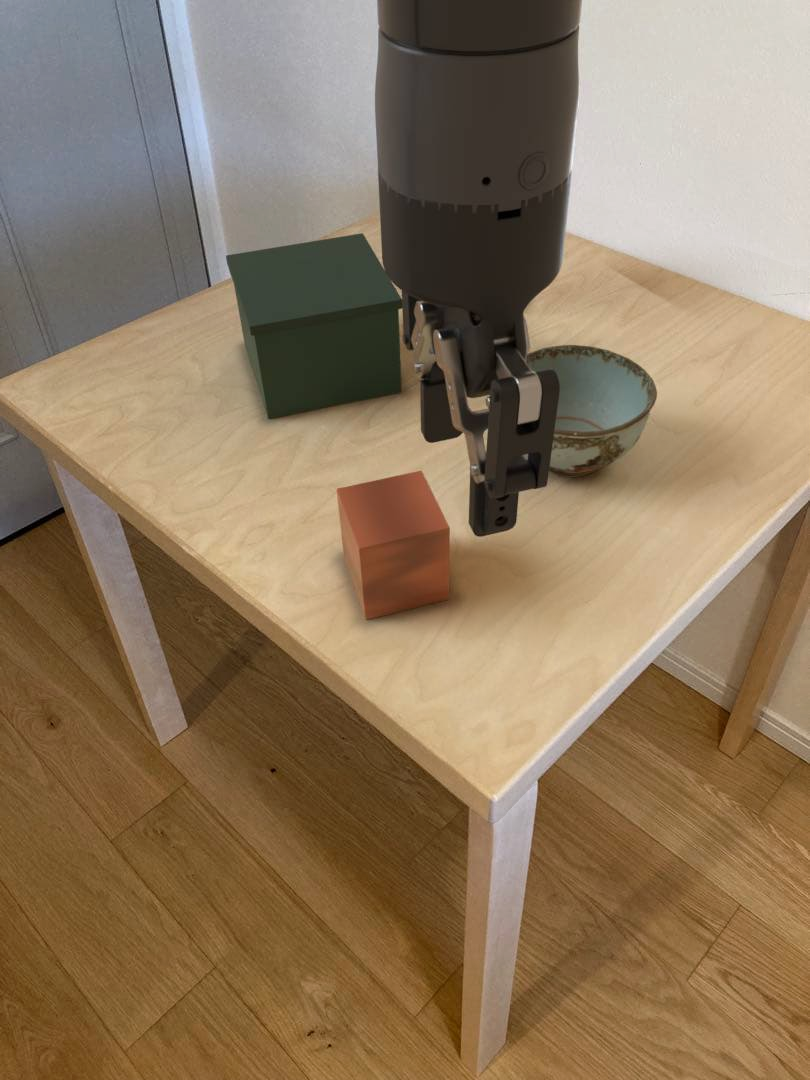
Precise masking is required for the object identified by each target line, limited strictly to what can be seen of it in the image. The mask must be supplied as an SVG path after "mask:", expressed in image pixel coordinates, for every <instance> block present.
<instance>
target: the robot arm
mask: <svg viewBox="0 0 810 1080" xmlns="http://www.w3.org/2000/svg"><path fill="white" fill-rule="evenodd" d="M582 5H583V0H376V10H377V11H376V12H377V25H378V30H377V42H378V43H377V62H376V70H375V71H376V72H375V83H374V118H375V137H376V139H375V140H376V157H377V179H378V183H377V184H378V198H379V199H378V200H379V201H378V202H379V222H380V223H379V224H380V243H381V244H380V245H381V260H382V267H383V268H384V270H385V272H386V274H387V276H388V277H389V278H390V280H391V282H392V283H393V285H394V286H395V287H396V288H398V289H399V290H401V299H402V309H401V310H402V329H403V330H402V331H403V334H402V342H403V344H404V345H405V348H406V350H407V351H413V353H414V357H413V364H412V369H413V372H414V374H415V375H416V378H417V379H418V380H419V394H420V395H419V396H420V398H419V400H420V401H419V403H420V432H421V434H422V436H423V438H424V440H425V442H427V443H430V444H434V443H439V442H442V441H443V442H444V441H448V440H453V439H457V438H459V437H460V436H461V435H463V434H464V436H465V443H466V448H467V449H466V450H467V455H468V461H469V496H468V497H469V498H468V525H469V527H470V529H471V531H472V532H473V535H474V536H476V537H479V538H481V537H487V536H491V535H494V534H495V535H496V534H499V533H503V532H507V531H510V530H512V529H514V527H515V526H516V524H517V521H518V507H519V495H520V492H525V491H529V490H530V491H531V490H537V489H543V488H546V487H547V485H548V482H549V473H550V471H549V467H550V460H551V452H552V445H553V437H554V430H555V423H556V415H557V408H558V400H559V393H560V384H559V380H558V376H557V374H556V372H555V371H554V370H553V369H546V370H541V371H536V372H534V371H532V370H531V368H530V367H529V365H528V364H527V361H526V356H527V354H528V353H530V352H529V351H530V348H531V344H530V337H529V331H528V330H529V329H528V324H527V321H526V317H525V315H524V311H525V309H526V308H527V307H528V306H529V304H530V303H531V302H532V301H533V300H534V299H535V298H536V297H537V296H538V295H540V293H542V292H543V291H544V290H546V289H547V288H548V287H549V286H550V285H551V284H552V283H553V281H555V280H556V278H557V277H558V275H559V273H560V271H561V268H562V266H563V261H564V251H565V241H566V233H567V232H566V231H567V223H568V212H569V203H570V193H571V185H572V184H571V183H572V173H573V163H574V155H575V154H574V153H575V144H576V134H577V126H578V117H579V115H578V114H579V105H580V58H579V57H580V54H579V53H580V49H579V47H580V46H579V43H580V38H579V37H580V24H581V15H582ZM486 396H487V397H486ZM481 397H486V398H485V406H486V407H487V408H482V409H478V410H471V408H470V406H469V402H468V401H469V400H468V399H476V398H481ZM486 431H487V434H486V435H487V437H486V443H485V437H484V434H485V432H486Z"/></svg>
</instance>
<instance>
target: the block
mask: <svg viewBox="0 0 810 1080" xmlns="http://www.w3.org/2000/svg"><path fill="white" fill-rule="evenodd" d="M336 497H337V498H336V499H337V504H338V505H337V507H338V516H339V525H340V534H341V542H342V543H341V544H342V552H343V553H342V554H343V561H344V563H345V566H346V568H347V571H348V575H349V577H350V580H351V583H352V586H353V589H354V591H355V594H356V597H357V600H358V603H359V605H360V608H361V611H362V614H363V617H364V619H365V620H370V619H374V618H378V617H383V616H386V615H390V614H395V613H400V612H403V611H406V610H411V609H414V608H419V607H423V606H427V605H431V604H434V603H439V602H443V601H446V600H450V560H451V559H450V556H451V555H450V553H451V552H450V551H451V549H450V548H451V543H450V541H451V534H450V533H451V527H450V525H449V523H448V522H447V519H446V517H445V515H444V513H443V510H442V509H441V507H440V504H439V502H438V501H437V499H436V497H435V495H434V493H433V490H432V489H431V486H430V484H429V482H428V480H427V478H426V476H425V474H424V473H423V471H422V470H417V471H413V472H412V471H411V472H408V473H404V474H403V473H402V474H399V475H394V476H389V477H385V478H381V479H376V480H371V481H367V482H366V481H365V482H362V483H357V484H353V485H348V486H344V487H338V488H337V489H336Z"/></svg>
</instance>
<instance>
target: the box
mask: <svg viewBox="0 0 810 1080" xmlns="http://www.w3.org/2000/svg"><path fill="white" fill-rule="evenodd" d="M225 260H226V265H227V267H228V271H229V273H230V276H231V279H232V283H233V286H234V291H235V298H236V303H237V310H238V314H239V320H240V326H241V331H242V337H243V342H244V347H245V351H246V354H247V357H248V360H249V363H250V367H251V370H252V372H253V375H254V379H255V383H256V385H257V388H258V392H259V394H260V398H261V401H262V404H263V407H264V410H265V413H266V417H267V419H268V420H271V419H276V418H280V417H284V416H285V417H286V416H290V415H294V414H300V413H305V412H310V411H315V410H320V409H324V408H325V409H326V408H330V407H335V406H341V405H345V404H350V403H355V402H360V401H365V400H371V399H375V398H380V397H381V398H382V397H385V396H390V395H395V394H400V393H402V389H403V388H402V366H401V364H402V362H401V340H400V339H401V338H400V337H401V336H400V312H399V310H402V296H401V295H400V294H399V292H398V290H397V287H396V286H395V284H394V283H393V282H392V281H391V280H390V278H389V277H388V276H387V274H386V272H385V269H384V266H383V264H382V263H381V262H380V260H379V258H378V257H377V254H376V253H375V251H374V250H373V248H372V246H371V245H370V243H369V241H368V239H367V237H366V236H365V234H364V232H363V233H362V232H361V233H355V234H349V235H343V236H337V237H331V238H325V239H319V240H311V241H306V242H300V243H294V244H288V245H281V246H276V247H270V248H263V249H258V250H252V251H251V250H250V251H244V252H239V253H233V254H227V255H225Z"/></svg>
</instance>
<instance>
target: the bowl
mask: <svg viewBox="0 0 810 1080" xmlns="http://www.w3.org/2000/svg"><path fill="white" fill-rule="evenodd" d="M526 361H527V364H528V365H529V367H530V368H531V370H532V371H534V372H536V371H541V370H546V369H553V370H554V371H555V372H556V374H557V376H558V380H559V384H560V393H559V400H558V408H557V415H556V423H555V430H554V437H553V445H552V452H551V460H550V467H549V473H552V474H554V475H558V476H561V477H567V478H575V477H582V476H583V477H584V476H587V475H589V474H592V473H594V472H595V471H596V470H599V469H602V468H604V467H607V466H609V465H611V464H612V463H614V462H616V461H617V460H619V459H621V458H623V457H624V456H625V455H626V454H627V453H629V451H630V450H631V449H632V448H633V447H634V446H635V445H636V443H637V442H638V441H639V440H640V438H641V436H642V434H643V432H644V430H645V428H646V425H647V422H648V420H649V417H650V415H651V411H652V410H653V408H654V405H655V404H656V402H657V398H658V390H657V387H656V384H655V381H654V379H653V378H652V377H651V375H650V374H649V373H648V372H647V370H646V369H645V368H644V367H642V366H641V365H639V364H638V363H636V362H635V361H634V360H632V359H631V358H629V357H626V356H624V355H622V354H619V353H616V352H614V351H611V350H609V349H605V348H600V347H595V346H590V345H579V344H578V345H577V344H566V345H565V344H564V345H554V346H547V347H542V348H539V349H537V350H533V351H530V352H528V354H527V356H526Z"/></svg>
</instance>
